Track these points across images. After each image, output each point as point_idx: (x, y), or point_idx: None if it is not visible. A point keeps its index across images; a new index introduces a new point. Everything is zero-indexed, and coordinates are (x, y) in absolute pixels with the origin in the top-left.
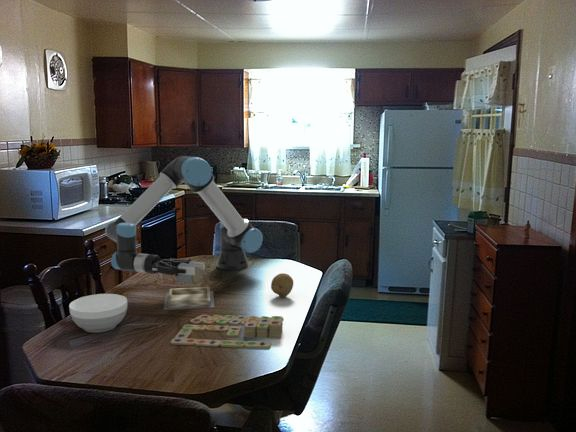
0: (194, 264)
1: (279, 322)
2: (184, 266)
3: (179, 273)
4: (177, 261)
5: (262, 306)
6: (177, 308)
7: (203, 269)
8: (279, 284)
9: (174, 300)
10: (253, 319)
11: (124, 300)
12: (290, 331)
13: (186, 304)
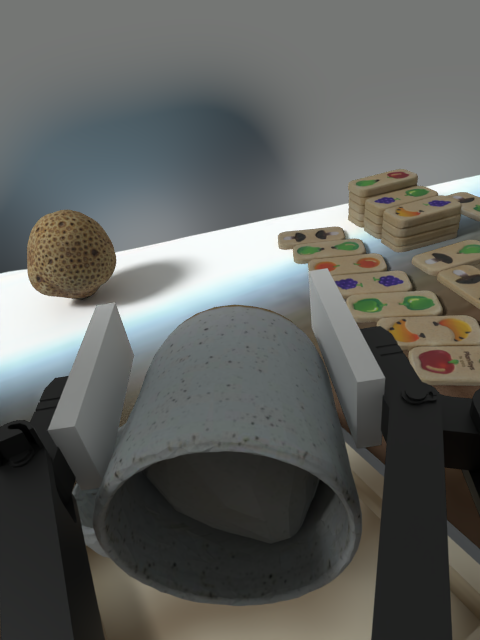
0: (102, 389)
1: (390, 172)
2: (281, 377)
3: (376, 434)
4: (48, 629)
5: (200, 296)
6: (467, 550)
7: (131, 355)
8: (105, 237)
9: (462, 577)
10: (396, 214)
11: None
12: (344, 209)
13: None
